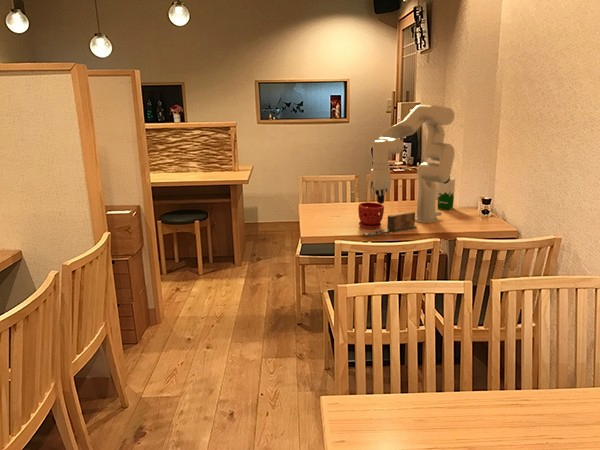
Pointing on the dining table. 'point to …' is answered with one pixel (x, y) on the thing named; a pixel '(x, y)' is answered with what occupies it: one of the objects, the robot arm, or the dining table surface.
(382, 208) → the plant pot
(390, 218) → the walnut screen
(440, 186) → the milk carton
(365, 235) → the screen rail
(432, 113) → the robot arm
